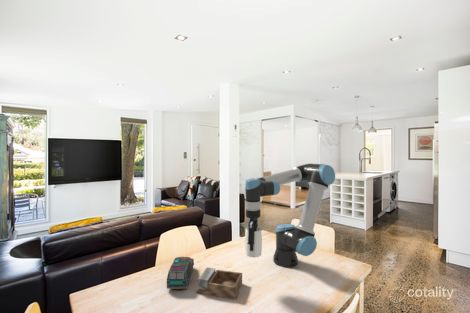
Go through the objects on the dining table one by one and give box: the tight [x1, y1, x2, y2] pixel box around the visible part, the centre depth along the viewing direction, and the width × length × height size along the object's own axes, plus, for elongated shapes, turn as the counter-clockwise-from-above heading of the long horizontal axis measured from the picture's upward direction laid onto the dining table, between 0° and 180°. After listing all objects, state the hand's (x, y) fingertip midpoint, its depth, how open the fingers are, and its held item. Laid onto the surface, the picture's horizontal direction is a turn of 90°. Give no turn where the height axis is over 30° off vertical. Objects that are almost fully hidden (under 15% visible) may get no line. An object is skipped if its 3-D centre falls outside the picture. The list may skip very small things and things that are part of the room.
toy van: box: [165, 256, 195, 290], centre depth 131 cm, size 11×25×10 cm, turn 1°
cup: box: [244, 226, 263, 258], centre depth 123 cm, size 8×8×14 cm
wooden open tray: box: [195, 267, 243, 300], centre depth 121 cm, size 20×14×6 cm
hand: (253, 252), depth 123 cm, fingers closed on cup, 8 cm apart
